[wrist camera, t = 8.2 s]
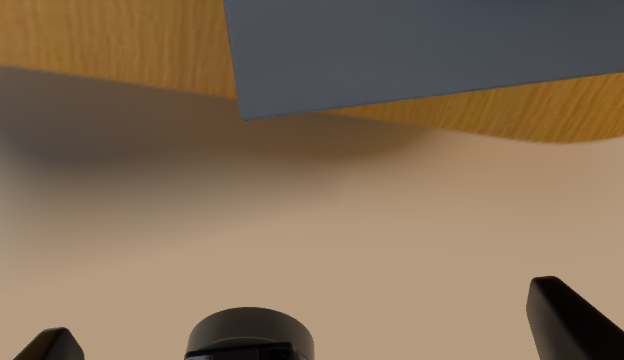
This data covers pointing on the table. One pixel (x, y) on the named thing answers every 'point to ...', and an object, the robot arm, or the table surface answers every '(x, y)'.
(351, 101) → the lid
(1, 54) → the table surface
